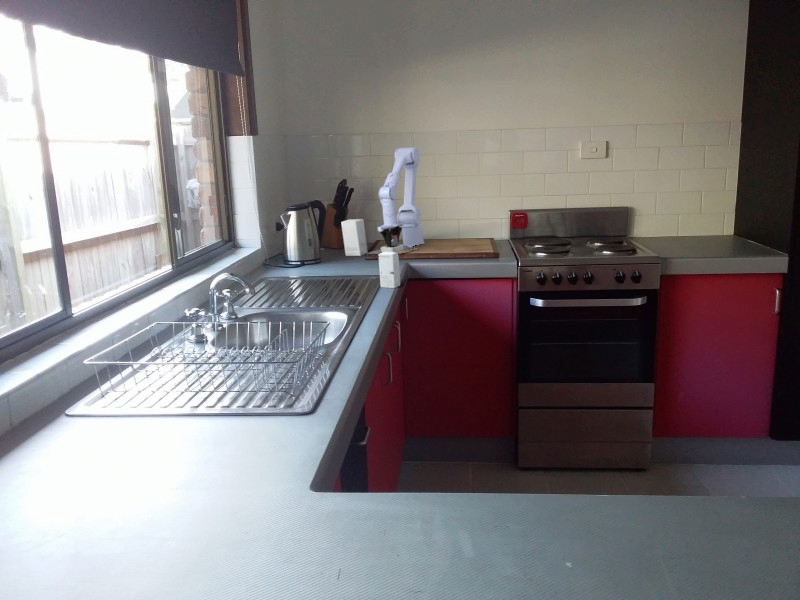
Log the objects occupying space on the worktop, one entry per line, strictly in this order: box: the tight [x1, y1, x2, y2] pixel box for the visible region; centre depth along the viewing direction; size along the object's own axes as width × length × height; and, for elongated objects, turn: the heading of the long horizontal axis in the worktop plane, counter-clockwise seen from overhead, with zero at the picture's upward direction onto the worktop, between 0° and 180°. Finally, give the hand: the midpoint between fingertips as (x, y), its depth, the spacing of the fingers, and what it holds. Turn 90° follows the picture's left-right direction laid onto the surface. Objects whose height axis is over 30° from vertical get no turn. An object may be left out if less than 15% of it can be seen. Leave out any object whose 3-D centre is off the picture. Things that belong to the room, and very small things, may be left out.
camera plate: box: [366, 241, 419, 256], centre depth 307 cm, size 18×14×3 cm
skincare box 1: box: [340, 218, 369, 257], centre depth 308 cm, size 8×7×16 cm
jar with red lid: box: [389, 234, 399, 247], centre depth 305 cm, size 4×4×6 cm
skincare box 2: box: [378, 252, 401, 289], centre depth 244 cm, size 6×4×12 cm
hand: (392, 245), depth 305 cm, fingers closed on jar with red lid, 4 cm apart
